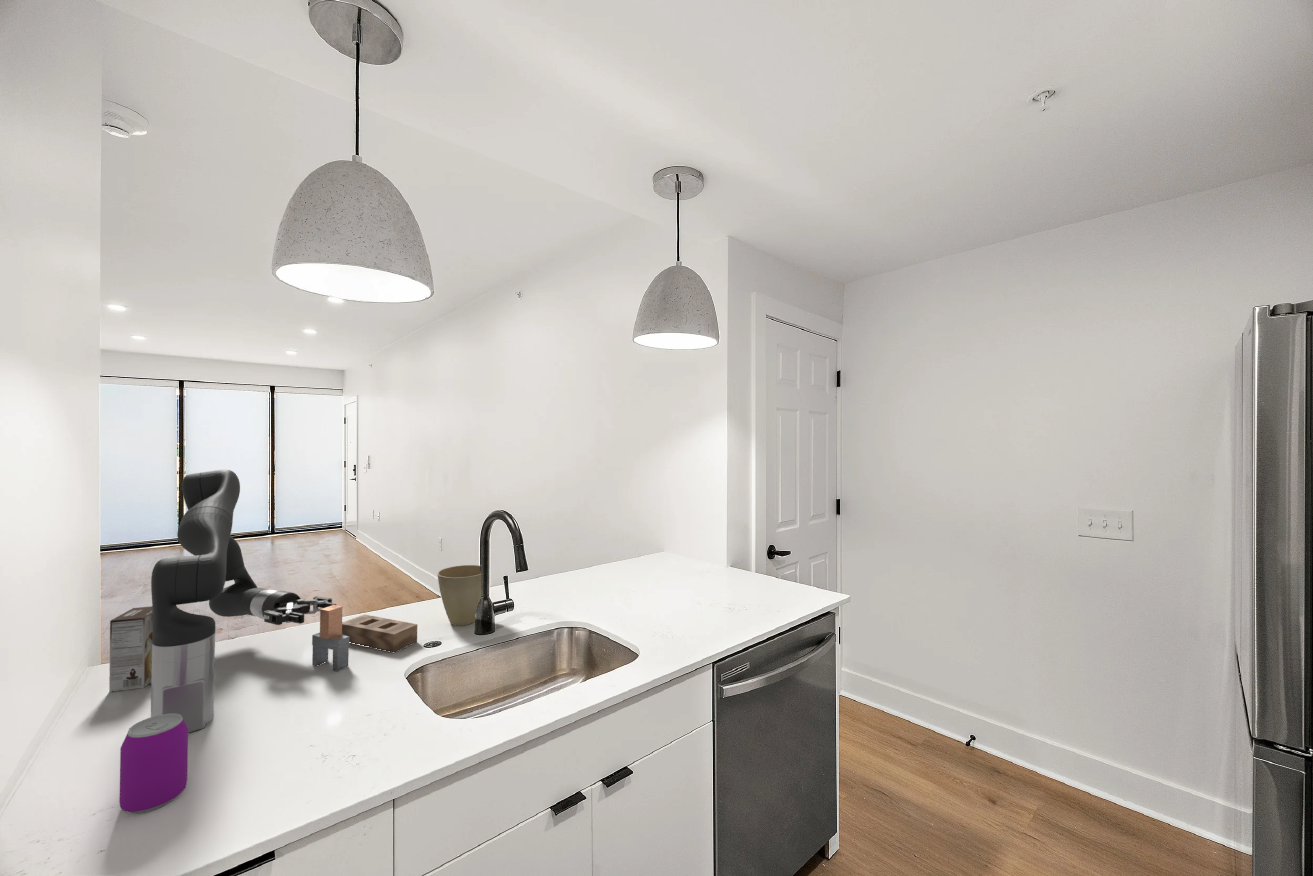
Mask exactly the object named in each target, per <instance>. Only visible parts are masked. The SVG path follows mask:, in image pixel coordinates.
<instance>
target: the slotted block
mask: <svg viewBox="0 0 1313 876" xmlns="http://www.w3.org/2000/svg"><path fill="white" fill-rule="evenodd" d="M341 635H345V636H349V642H351V643H355V644H360V645H364V646H369V647H372V648H377V649H381V650H380V651H382V650H386V651H390V652H389V653H391V652H395V653H397V652H399V651H401V650H403V649H406V648H407V647H406V646H408V647H409V645H410V646H412V645H414V644H416V643H418V624H416V623H412V622H408V621H407V622H406V621H401V620H396V619H392V618H386V617H382V616H381V617H380V616H374V615H369V614H362V615H359V616H357V617H353V618H351V619H348V620H345V621H342V634H341ZM411 644H412V645H411ZM405 647H406V648H405ZM372 648H371V649H372ZM377 649H376V650H377ZM400 649H401V650H400ZM398 650H399V651H398ZM386 651H385V652H386ZM396 651H397V652H396Z"/></svg>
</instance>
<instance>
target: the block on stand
mask: <svg viewBox="0 0 1313 876" xmlns="http://www.w3.org/2000/svg"><path fill="white" fill-rule="evenodd" d="M342 622H343V606H341V605H332V606H329V607H326V608H323V609H320V611H319V632H318V633H314V634H312V639H311V646H312V658H311V659H312V660H311V662H312V666H313V665H315V667H318V666H317V665H319V666H321V665H323V664H322V663H324V662H326V663H328V662H329V650H332V671H334V672H339V671H340V670H344V669H345V667H346V668H347V666H348V667H349V654H350V652H349V650H350V649H349V647H350V644H349V636H345V635H341V634H342ZM327 661H328V662H327ZM320 664H321V665H320ZM324 664H325V663H324Z"/></svg>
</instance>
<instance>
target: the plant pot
mask: <svg viewBox="0 0 1313 876" xmlns="http://www.w3.org/2000/svg"><path fill="white" fill-rule="evenodd" d="M480 566H481V565H478V564H477V565H476V564H462V565H461V564H459V565H455V566H449V567H444V568H442V569H441V570H439V571H437V574H436V575H437V580H438V589H439V593H440V596H441V600H442V603H443V608H444V610H445V614H446V616H447V619H448V621H449V624H451V625H452V626H457V627H458V626H459V627H460V626H466V625H467V626H468V625H470V624H473V623H474V622H475V621H476V619H475V614H476V608H477V605H478V603H479V601H480V598H481V571H480Z"/></svg>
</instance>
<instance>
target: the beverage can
mask: <svg viewBox="0 0 1313 876" xmlns="http://www.w3.org/2000/svg"><path fill="white" fill-rule="evenodd" d="M119 749H120V751H119V753H120V754H119V755H120V757H119V759H120V760H119V800H118V801H119V808H120V810H121V811H124V812H126V813H130V814H134V815H135V814H136V815H137V814H144V813H149V812H152V811H155V810H158V809H160V808H162V807H165V806H166V805H168V804H170V803H171V802H173V801H174V800H176V799H177V798H178V797H179V796H180V795H181V794H182V792H184V791H185V789H186V787H187V783H188V767H189V766H188V764H189V762H188V761H189V759H188V756H189V755H188V754H189V732H188V727H187V725H186V723H185V722H184V720H183V717H182V716H181V715H180V714H177V713H170V714H162V715H158V716H154V717H151V716H150V717H147V718H145V719H143V720H140V721H138V722H136V723H134V724H133V725H132V726H130V727H129V728H128V730H127V734H126V735H125V738H124V740H123V741H122V744H121V746H120V748H119Z"/></svg>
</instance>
